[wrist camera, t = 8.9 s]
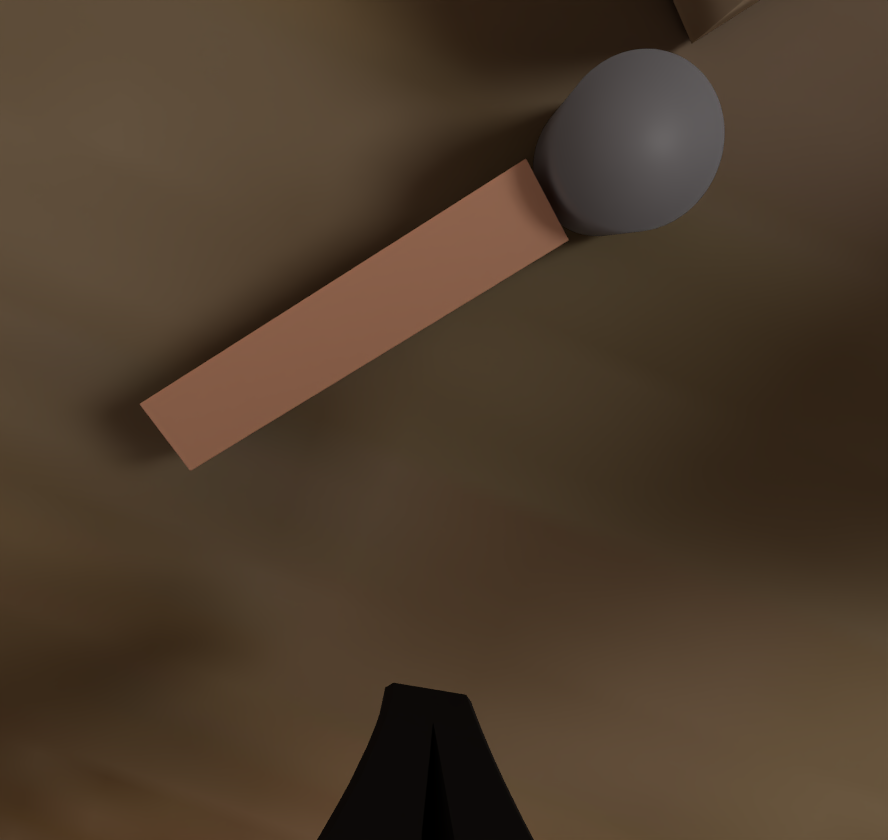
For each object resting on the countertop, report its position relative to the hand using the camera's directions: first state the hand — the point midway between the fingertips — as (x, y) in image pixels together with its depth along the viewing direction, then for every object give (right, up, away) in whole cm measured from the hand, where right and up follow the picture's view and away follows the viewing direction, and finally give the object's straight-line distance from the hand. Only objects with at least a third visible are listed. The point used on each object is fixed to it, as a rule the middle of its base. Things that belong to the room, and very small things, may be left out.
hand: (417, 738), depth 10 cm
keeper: (0, +8, +2) cm, 8 cm away
